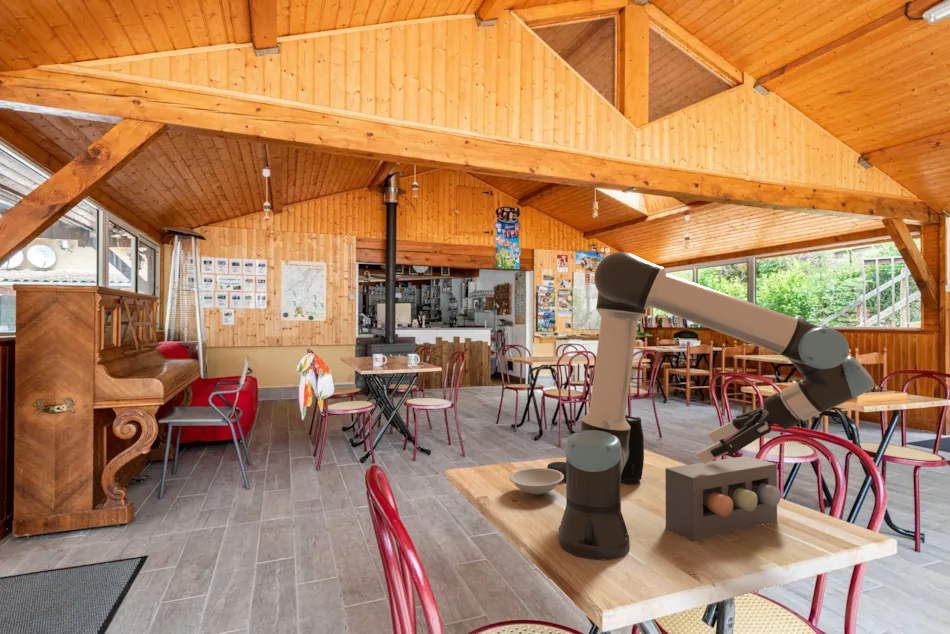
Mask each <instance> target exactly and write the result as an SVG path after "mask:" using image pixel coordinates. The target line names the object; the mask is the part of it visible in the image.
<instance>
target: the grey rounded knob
mask: <svg viewBox="0 0 950 634" xmlns="http://www.w3.org/2000/svg"><path fill="white" fill-rule="evenodd" d="M752 492H754V493H756V495H757V498H758V501H760V502H763V503H765V504H768V505H771V506H776V505H777V506H778V504H779V503H780V501H781V490H780V488H778V487H774V486H771V485H768V484H765V483H761V484H760V485H759V486H758V485H755V484H752Z"/></svg>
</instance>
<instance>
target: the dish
mask: <svg viewBox="0 0 950 634" xmlns="http://www.w3.org/2000/svg"><path fill="white" fill-rule="evenodd" d="M563 479H564V475H563V474H562V473H561V472H559V471H557V470H553V469H548V468H547V467H546V468H545V467H531V468H530V467H528V468H523V469H519V470H516V471H514V472H513V473H511V474H510V475H509V480H510V482H512V483H513V484H514V485H515V486H516V487H517V488H518V490H521V491H522V492H524V493H525V494H531V495H535V494H539V495H541V494H547V493H550V492H551V491H553V490H554V489H555V488H556V487H557V486H559V484H560V483H561V482H563V481H562V480H563Z"/></svg>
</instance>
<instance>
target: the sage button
mask: <svg viewBox="0 0 950 634" xmlns="http://www.w3.org/2000/svg"><path fill="white" fill-rule="evenodd" d="M728 497H730V498H731V499H732V501H733V503H734V505H735V506H737V507H739V508H742V509H744V510H747V511H753V510H754V509H755V508H756V506H757V502H758V498H757V495H756V493H754V492H752V491H749V490H746V489H743V488H737V489H736V490H734V489H731V488H729V489H728Z"/></svg>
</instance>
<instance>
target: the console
mask: <svg viewBox="0 0 950 634" xmlns="http://www.w3.org/2000/svg"><path fill="white" fill-rule="evenodd" d="M777 468H778V467H777V463H774V462H771V461H768V460H764V459H761V458H756V457H753V456H749V455H744V456H738V457H737V456H736V457H730V458H724V459H718V460H717V459H715V460H712V461H710V462H708V463H705V464H704V463H703V462H697V463H692V464H686V465H685V464H683V465H679V466H678V465H677V466H671V467H665V529H667V530H669V531H671V532H673V533H675V534H678V536H681V537H684V538H685V539H687V540H689V541H692V542H698V541H702V540H705V539H710V538H714V537H718V536H722V535H727V534H730V533H731V534H732V533H735V532H739V531H745V530H747V529H751V527H752V528H756V527H759V526H758V525H760V526H763V525H762V524H765V525H768V524H767V523H769V524H772V523H771V522H773V523H776V521H777V522H778V504H777V505H776V506H771V505H768V504H765V503H763V502H760V501H758V502H757V506H756V508H755V509H754V510H753V511H747V510H744V509H742V508H739V507H737V506H735V505H734V503H733V510H732V512H731V514H730V515H729V516H727V517H723V516H721V515H719V514H716V513H714V512H711V511H710V510H709V508H708V506H707V505H705V504H703V493H708V494H712V493H714V492H717V493H720V494H722V495H725V496H728V489H729V488H731V489H734V490H736V489H737V488H743V489H746V490H749V491H752V484H755V485H758V486H759V485H760V484H761V483H765V484H768V485H771V486H774V487H777V486H778V481H777V479H778V477H777V475H778V474H777V473H778V469H777ZM777 488H778V487H777ZM755 526H756V527H755Z"/></svg>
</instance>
